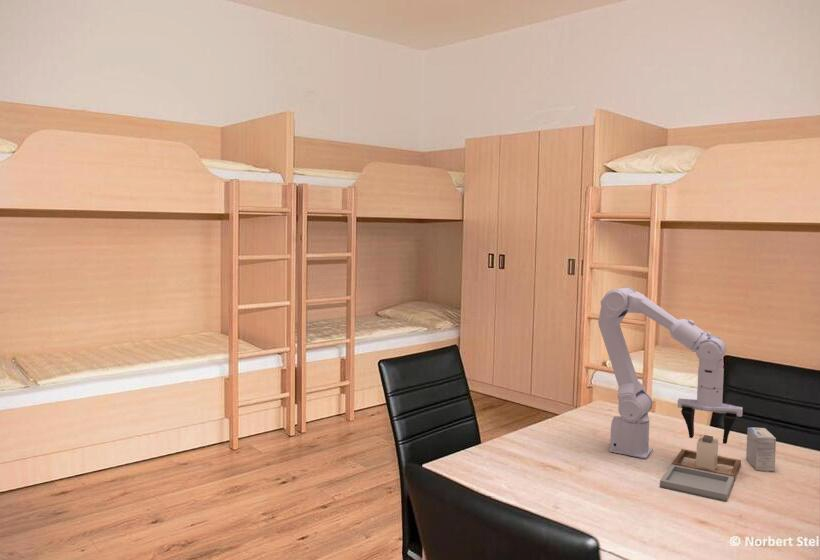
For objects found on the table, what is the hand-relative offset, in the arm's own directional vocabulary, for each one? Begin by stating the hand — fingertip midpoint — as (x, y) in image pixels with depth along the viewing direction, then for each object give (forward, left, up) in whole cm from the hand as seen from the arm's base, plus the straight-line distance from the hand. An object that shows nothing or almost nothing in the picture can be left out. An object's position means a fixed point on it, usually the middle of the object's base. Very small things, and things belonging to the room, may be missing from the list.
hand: (708, 439), depth 159 cm
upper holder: (0, 0, -7) cm, 7 cm away
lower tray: (0, -13, -7) cm, 15 cm away
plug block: (0, 0, -7) cm, 7 cm away
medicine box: (+11, +9, -7) cm, 16 cm away
